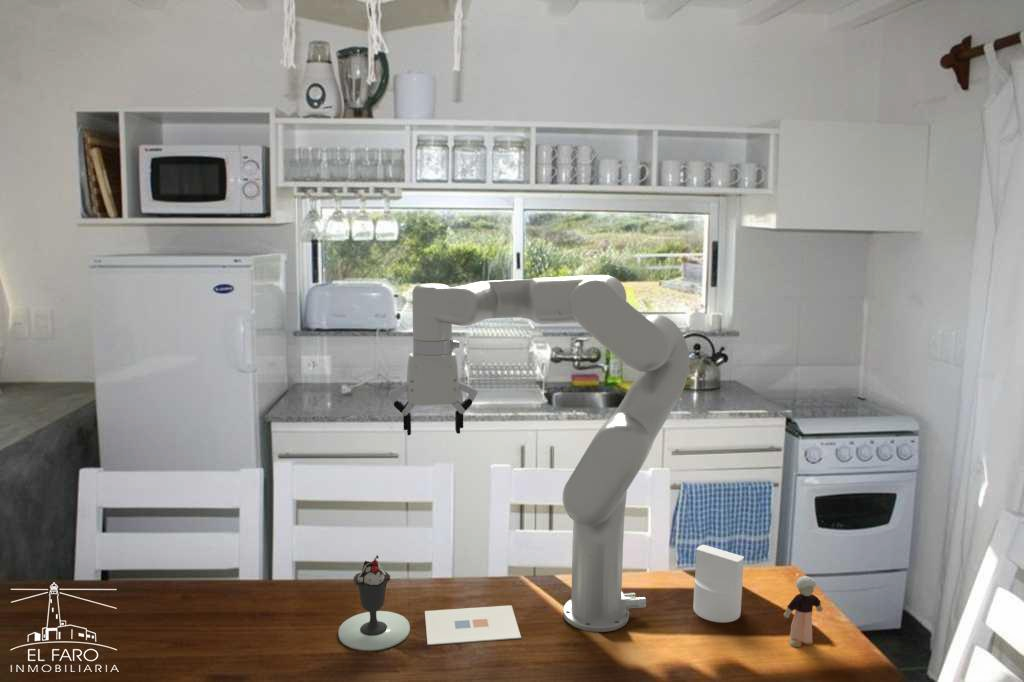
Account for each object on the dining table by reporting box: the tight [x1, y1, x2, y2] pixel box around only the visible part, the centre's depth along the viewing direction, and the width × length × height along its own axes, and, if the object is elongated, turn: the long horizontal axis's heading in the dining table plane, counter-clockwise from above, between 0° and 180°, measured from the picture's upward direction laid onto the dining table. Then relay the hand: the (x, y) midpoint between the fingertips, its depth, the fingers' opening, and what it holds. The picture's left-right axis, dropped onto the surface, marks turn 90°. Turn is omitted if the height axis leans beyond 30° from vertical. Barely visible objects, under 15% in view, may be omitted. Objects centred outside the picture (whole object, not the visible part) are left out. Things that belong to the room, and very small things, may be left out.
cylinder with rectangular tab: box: [692, 544, 745, 623], centre depth 158 cm, size 9×9×12 cm
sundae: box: [353, 555, 391, 636], centre depth 149 cm, size 7×7×15 cm
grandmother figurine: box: [783, 575, 823, 648], centre depth 147 cm, size 8×4×13 cm, turn 117°
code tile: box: [424, 605, 522, 646], centre depth 153 cm, size 17×12×1 cm
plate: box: [338, 610, 411, 652], centre depth 151 cm, size 13×13×1 cm
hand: (433, 432), depth 161 cm, fingers open, 9 cm apart
